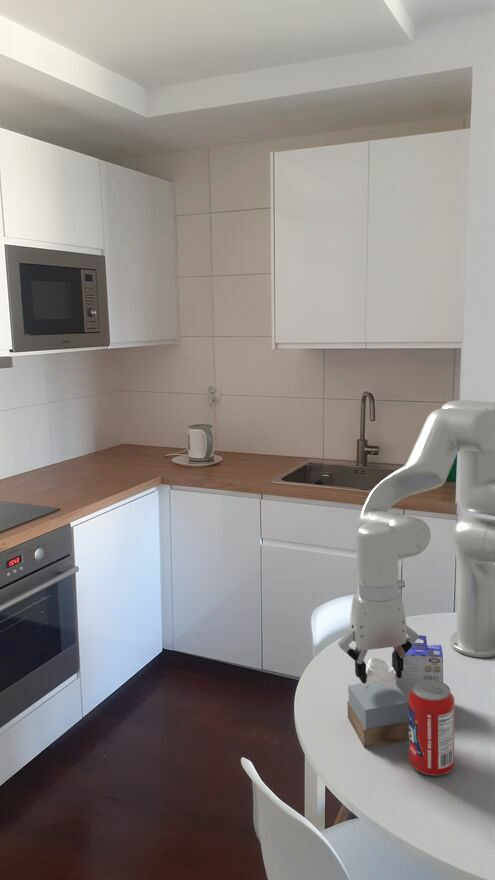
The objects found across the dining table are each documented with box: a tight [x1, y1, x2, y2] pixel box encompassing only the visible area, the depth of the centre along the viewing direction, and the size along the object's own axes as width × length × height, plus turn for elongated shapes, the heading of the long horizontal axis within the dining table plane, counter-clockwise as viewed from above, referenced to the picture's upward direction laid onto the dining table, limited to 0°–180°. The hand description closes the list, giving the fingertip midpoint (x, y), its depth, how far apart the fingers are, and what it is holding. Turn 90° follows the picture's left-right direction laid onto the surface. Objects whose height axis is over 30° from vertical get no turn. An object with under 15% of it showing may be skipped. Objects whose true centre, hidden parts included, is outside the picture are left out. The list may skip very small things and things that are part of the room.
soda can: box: [408, 679, 456, 776], centre depth 124 cm, size 8×8×15 cm
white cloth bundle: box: [361, 657, 396, 689], centre depth 134 cm, size 8×7×5 cm
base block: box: [347, 700, 409, 748], centre depth 136 cm, size 10×10×4 cm
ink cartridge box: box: [393, 634, 444, 699], centre depth 143 cm, size 10×6×14 cm, turn 78°
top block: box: [347, 682, 409, 729], centre depth 135 cm, size 9×9×4 cm
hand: (379, 676), depth 134 cm, fingers closed on white cloth bundle, 6 cm apart
